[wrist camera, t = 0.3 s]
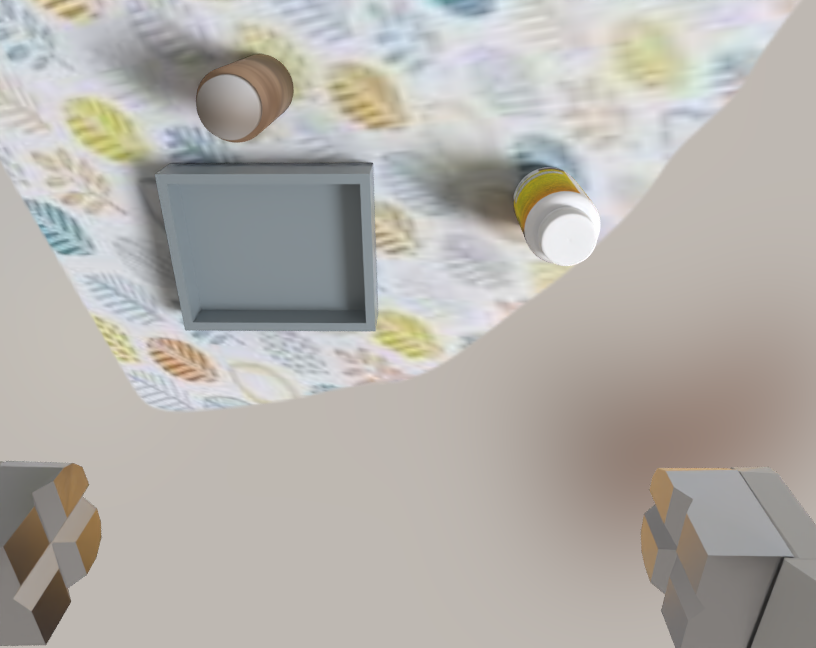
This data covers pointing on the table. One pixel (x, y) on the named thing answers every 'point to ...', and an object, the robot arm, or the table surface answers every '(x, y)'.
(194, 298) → the tray
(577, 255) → the supplement bottle
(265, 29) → the table surface
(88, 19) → the table surface
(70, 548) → the robot arm
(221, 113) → the shaker
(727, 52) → the table surface
